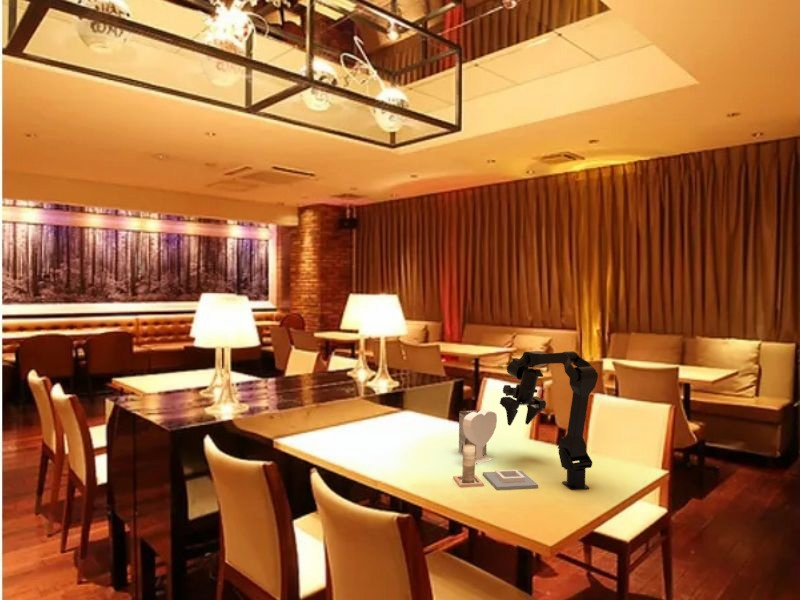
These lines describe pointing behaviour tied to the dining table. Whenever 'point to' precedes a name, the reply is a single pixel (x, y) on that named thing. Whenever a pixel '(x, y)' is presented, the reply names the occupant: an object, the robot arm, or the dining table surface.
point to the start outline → (468, 483)
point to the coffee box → (462, 437)
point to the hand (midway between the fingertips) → (517, 424)
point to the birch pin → (468, 464)
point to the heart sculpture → (480, 430)
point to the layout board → (509, 480)
